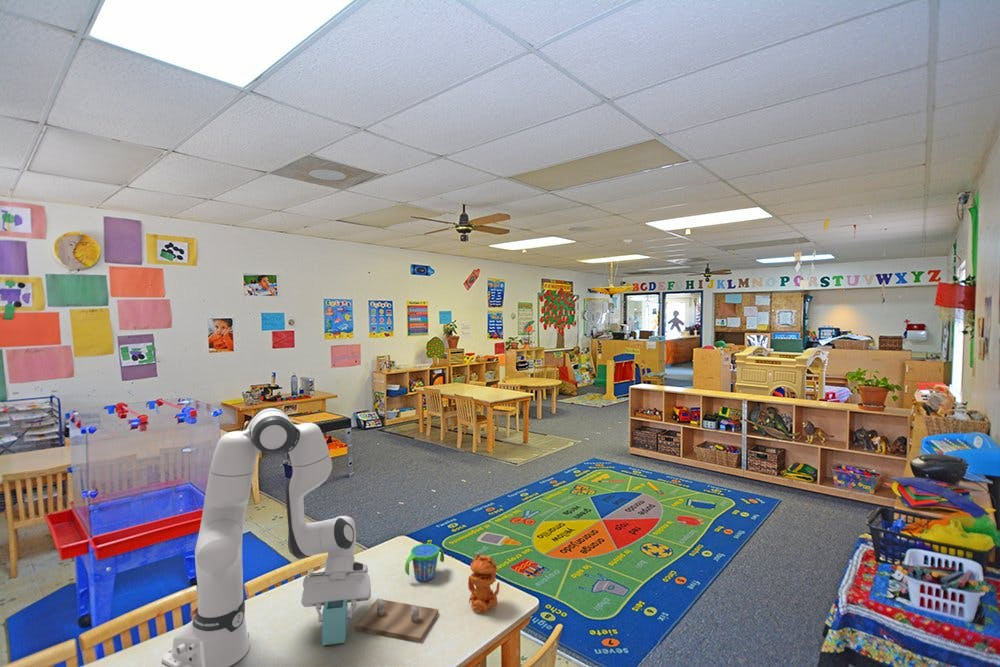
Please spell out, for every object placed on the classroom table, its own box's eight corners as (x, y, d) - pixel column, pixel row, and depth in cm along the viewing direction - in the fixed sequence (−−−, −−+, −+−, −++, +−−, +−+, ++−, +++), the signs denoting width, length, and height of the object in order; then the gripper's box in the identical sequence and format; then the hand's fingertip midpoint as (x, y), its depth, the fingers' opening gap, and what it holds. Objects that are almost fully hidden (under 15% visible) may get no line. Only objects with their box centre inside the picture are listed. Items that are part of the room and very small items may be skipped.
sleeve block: (322, 645, 135) (322, 611, 134) (325, 630, 141) (325, 598, 141) (345, 642, 136) (345, 609, 136) (347, 628, 142) (347, 596, 142)
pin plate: (354, 629, 143) (354, 612, 143) (377, 603, 156) (377, 587, 156) (420, 642, 137) (420, 624, 137) (438, 613, 151) (438, 597, 151)
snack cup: (437, 564, 181) (437, 538, 181) (450, 577, 172) (450, 550, 172) (399, 576, 173) (399, 549, 172) (410, 590, 164) (410, 562, 164)
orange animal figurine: (460, 613, 151) (460, 559, 151) (474, 594, 162) (474, 544, 161) (491, 621, 147) (492, 566, 147) (504, 602, 157) (504, 550, 157)
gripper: (303, 570, 142) (296, 621, 133) (371, 564, 147) (369, 613, 138) (305, 576, 147) (299, 626, 138) (372, 570, 151) (370, 618, 142)
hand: (335, 620), depth 138 cm, fingers closed on sleeve block, 6 cm apart
